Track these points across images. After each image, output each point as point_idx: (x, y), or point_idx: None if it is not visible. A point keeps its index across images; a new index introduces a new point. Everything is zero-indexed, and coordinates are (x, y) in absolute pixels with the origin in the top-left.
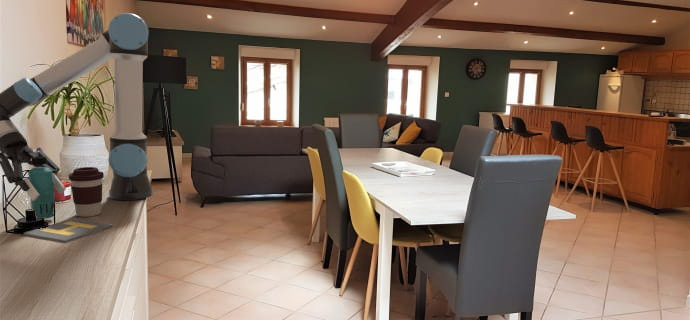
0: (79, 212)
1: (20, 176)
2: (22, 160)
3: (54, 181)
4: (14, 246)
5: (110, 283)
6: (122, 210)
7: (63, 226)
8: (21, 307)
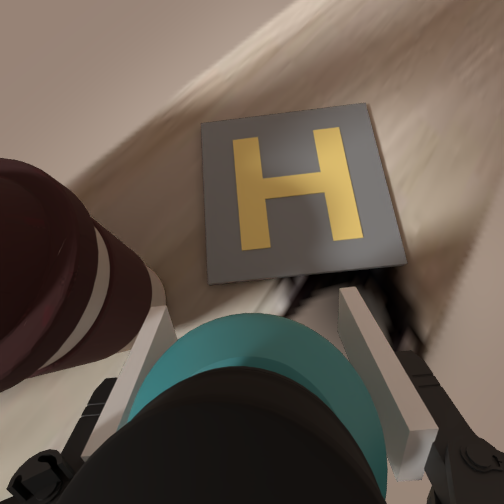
0: (161, 296)
1: (491, 473)
2: None
3: None
4: (472, 184)
5: None
6: None
7: (288, 220)
8: None
